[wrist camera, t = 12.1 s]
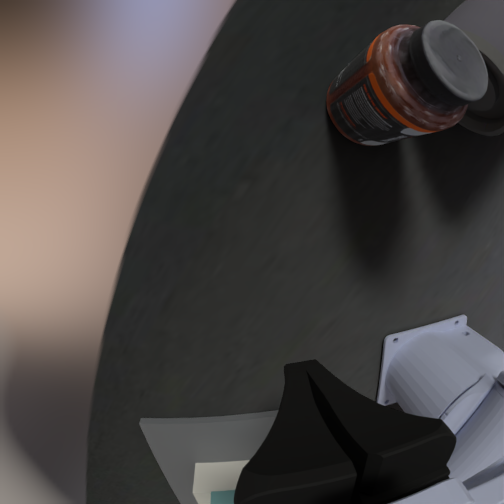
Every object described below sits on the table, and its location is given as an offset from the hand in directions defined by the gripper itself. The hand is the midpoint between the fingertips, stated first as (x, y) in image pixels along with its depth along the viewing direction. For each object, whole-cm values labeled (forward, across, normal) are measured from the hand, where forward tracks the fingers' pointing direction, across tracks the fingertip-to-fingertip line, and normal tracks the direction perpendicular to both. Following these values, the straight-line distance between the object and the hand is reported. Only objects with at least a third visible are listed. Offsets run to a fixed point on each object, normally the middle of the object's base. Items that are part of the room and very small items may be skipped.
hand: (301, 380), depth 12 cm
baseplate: (+10, +3, +19) cm, 22 cm away
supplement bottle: (+11, -8, -13) cm, 19 cm away
